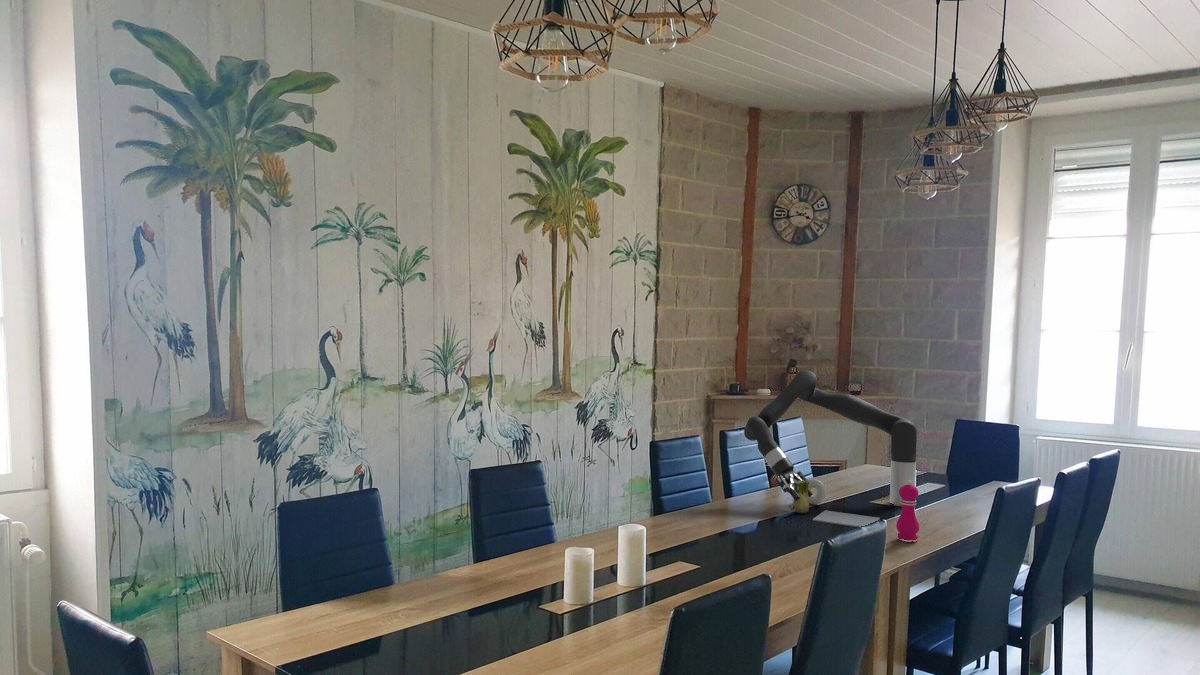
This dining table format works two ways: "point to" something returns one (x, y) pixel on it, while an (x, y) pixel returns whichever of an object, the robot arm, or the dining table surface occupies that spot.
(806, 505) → the fennel bulb
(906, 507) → the pepper mill
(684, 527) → the dining table surface
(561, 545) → the dining table surface
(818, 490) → the donut
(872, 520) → the rubber mat
